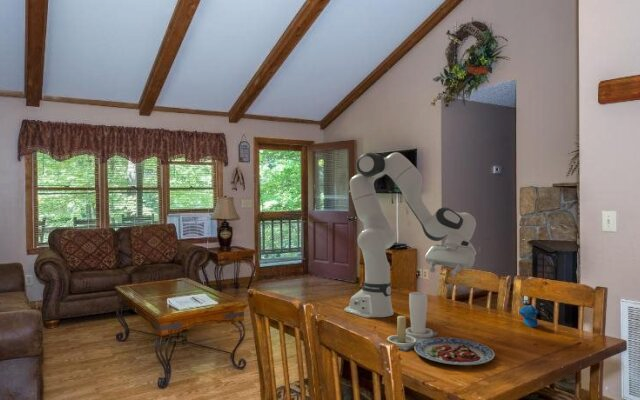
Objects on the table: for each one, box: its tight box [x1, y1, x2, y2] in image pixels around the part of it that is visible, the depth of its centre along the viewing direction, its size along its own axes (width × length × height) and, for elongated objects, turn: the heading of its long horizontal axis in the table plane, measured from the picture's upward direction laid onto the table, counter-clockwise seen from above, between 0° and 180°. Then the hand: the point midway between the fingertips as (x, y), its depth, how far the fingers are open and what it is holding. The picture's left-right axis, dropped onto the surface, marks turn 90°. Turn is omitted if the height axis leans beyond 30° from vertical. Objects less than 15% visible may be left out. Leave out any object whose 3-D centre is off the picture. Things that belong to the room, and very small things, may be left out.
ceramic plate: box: [413, 337, 495, 366], centre depth 156 cm, size 26×26×3 cm
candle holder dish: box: [386, 315, 439, 352], centre depth 172 cm, size 10×24×10 cm, turn 140°
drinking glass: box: [408, 291, 428, 335], centre depth 178 cm, size 7×7×15 cm
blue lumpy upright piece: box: [518, 304, 539, 328], centre depth 190 cm, size 7×9×12 cm
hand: (441, 273), depth 186 cm, fingers open, 8 cm apart
